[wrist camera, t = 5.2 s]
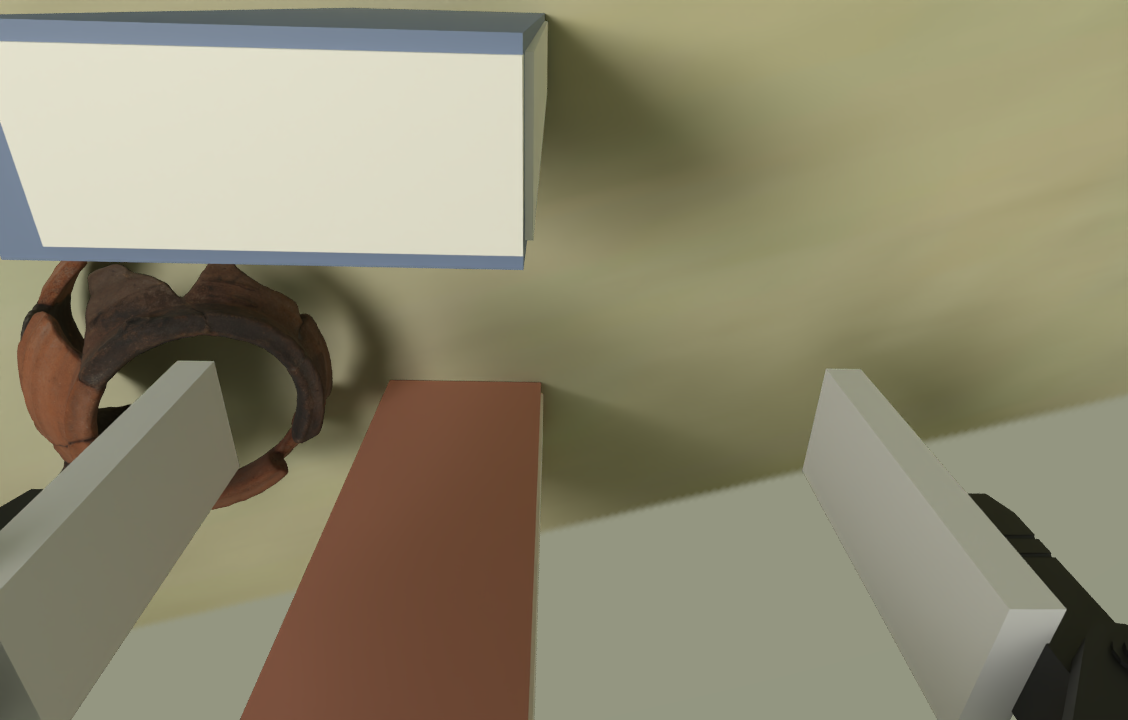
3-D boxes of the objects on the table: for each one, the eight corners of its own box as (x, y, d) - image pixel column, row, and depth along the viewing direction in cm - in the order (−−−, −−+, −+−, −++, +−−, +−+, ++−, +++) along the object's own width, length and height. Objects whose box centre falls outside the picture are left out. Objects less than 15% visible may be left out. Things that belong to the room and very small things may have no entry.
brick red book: (395, 432, 28) (230, 875, 14) (389, 379, 27) (203, 804, 13) (543, 434, 28) (529, 875, 14) (543, 382, 27) (530, 805, 13)
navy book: (358, 94, 22) (-5, 262, 8) (349, 8, 21) (-99, 16, 7) (547, 99, 22) (531, 272, 8) (548, 13, 21) (532, 33, 7)
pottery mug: (88, 150, 23) (88, 235, 17) (342, 259, 29) (406, 350, 23) (-44, 438, 25) (-86, 604, 19) (218, 482, 31) (249, 616, 25)
